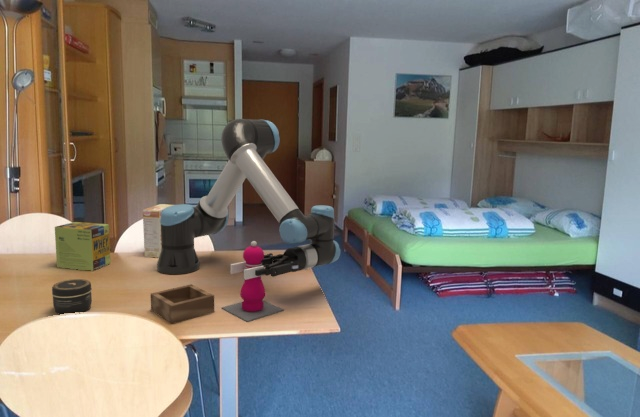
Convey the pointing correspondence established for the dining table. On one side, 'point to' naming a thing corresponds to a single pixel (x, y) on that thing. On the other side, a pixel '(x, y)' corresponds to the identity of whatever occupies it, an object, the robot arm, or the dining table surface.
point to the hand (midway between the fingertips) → (237, 271)
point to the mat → (250, 316)
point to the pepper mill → (253, 280)
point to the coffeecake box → (152, 230)
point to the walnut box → (182, 303)
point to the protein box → (82, 245)
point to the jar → (72, 296)
